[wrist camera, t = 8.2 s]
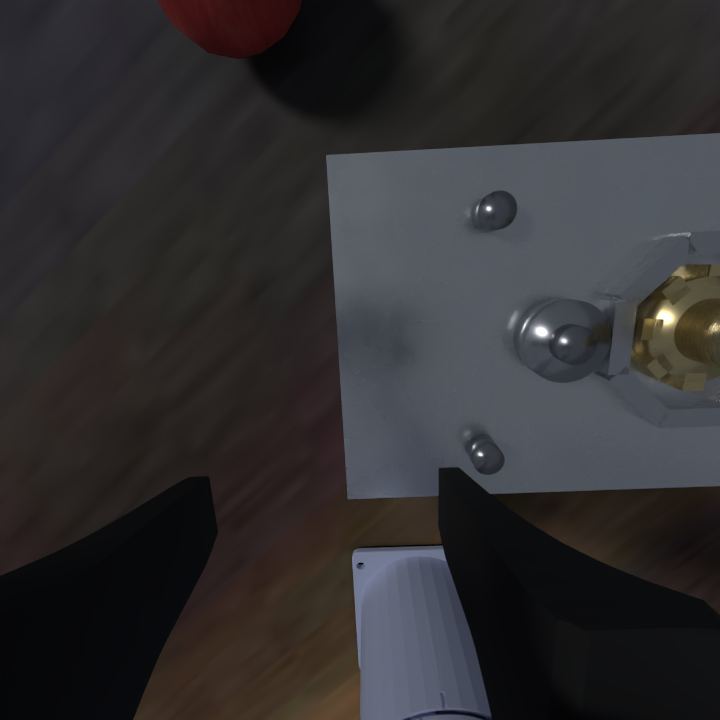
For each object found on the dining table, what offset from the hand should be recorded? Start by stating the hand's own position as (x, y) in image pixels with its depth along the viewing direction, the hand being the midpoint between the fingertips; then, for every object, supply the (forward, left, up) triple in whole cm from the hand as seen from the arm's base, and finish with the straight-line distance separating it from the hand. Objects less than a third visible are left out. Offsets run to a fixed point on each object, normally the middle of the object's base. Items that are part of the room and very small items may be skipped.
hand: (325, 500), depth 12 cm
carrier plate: (+3, -11, -10) cm, 15 cm away
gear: (+3, -18, -9) cm, 20 cm away
